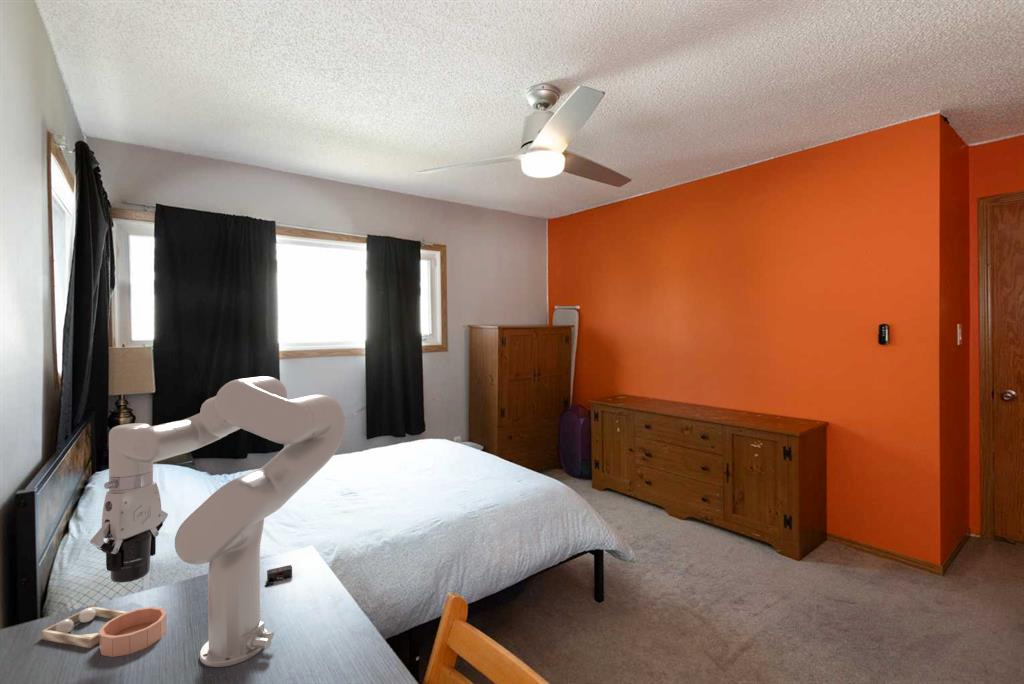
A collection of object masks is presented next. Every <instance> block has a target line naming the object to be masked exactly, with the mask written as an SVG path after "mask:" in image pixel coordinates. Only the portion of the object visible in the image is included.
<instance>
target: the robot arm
mask: <svg viewBox="0 0 1024 684" xmlns="http://www.w3.org/2000/svg"><path fill="white" fill-rule="evenodd" d="M240 429H242V430H244V431H245V432H246V431H247V432H249V433H252V434H254V435H256V436H259V437H261V438H263V439H267V440H268V441H271V442H274V443H275V444H276V443H277V444H280V445H285V446H284V447H283V448H282V449H281V450H280V451H279V452H278V453H277V454H276V455H275V456H274V457H272V458H271V459H270V460H269V461H268V462H266V463H265V464H264V465H263V466H261V467H260V468H258V469H255V470H253V471H251V472H248V473H246V474H244V475H241V476H238V477H236V478H234V479H232V480H229V481H228V482H227V483H225V484H224V485H222V486H220V487H219V488H218V489H217V490H215V491H214V492H213V493H212V494H211V495H210V496H209V497H208V498H207V499H206V500H205V501H204V502H202V504H200V505H199V506H198V507H197V508H196V509H195V510H194V511H193V512H192V513H191V514H189V516H188V517H187V518H185V520H184V521H183V522H182V523H181V525H179V527H178V529H177V530H176V534H175V538H174V549H175V553H176V555H177V557H178V558H179V559H180V560H181V561H182V562H185V563H186V564H190V565H196V566H197V565H205V564H208V566H207V567H208V568H207V569H208V570H207V599H208V600H207V607H208V609H207V611H208V612H207V614H208V615H207V616H208V617H207V618H208V624H207V625H208V640H207V641H206V642H205V643H204V644H203V645H202V647H201V648H200V651H199V661H200V663H201V664H203V665H204V666H207V667H209V668H210V667H211V668H224V667H229V666H233V665H237V664H240V663H243V662H244V661H247V660H249V659H251V658H253V657H254V656H256V655H257V654H259V653H260V652H261V651H262V650H268V649H269V648H270V647H271V644H272V639H274V636H275V632H273V631H268V630H267V629H266V628H265V622H264V621H261V579H260V578H261V577H260V576H261V574H260V573H261V572H260V571H261V567H260V565H261V562H260V559H261V558H260V556H261V554H260V553H261V543H262V542H261V541H262V538H263V537H262V535H263V531H264V530H263V529H264V525H265V524H264V523H265V518H267V517H269V516H271V515H272V514H274V513H275V512H277V511H278V510H280V509H281V508H282V507H283V506H284V505H285V504H286V503H287V502H288V501H289V500H290V499H291V498H292V497H293V496H294V495H295V494H296V493H297V492H298V491H299V490H300V489H302V487H304V486H305V485H306V484H307V483H308V482H309V481H310V480H311V479H312V478H313V477H314V476H315V475H316V474H318V472H319V471H320V470H321V469H322V468H323V467H324V466H326V464H327V463H328V462H329V461H330V460H331V459H332V458H333V456H334V455H335V454H336V452H337V450H338V449H339V447H340V446H341V443H342V441H343V438H344V435H345V431H346V418H345V412H344V409H343V407H342V405H341V403H340V402H339V401H338V400H336V399H335V398H334V397H332V396H329V395H327V394H311V395H307V396H301V397H297V398H291V399H288V390H287V388H286V385H285V384H284V383H283V382H282V381H280V379H277V378H276V377H272V376H267V375H266V376H264V375H263V376H253V377H245V378H238V379H233V380H230V381H228V382H227V383H225V384H224V385H223V386H221V387H220V388H219V390H218V391H217V393H216V395H215V396H213V397H209V398H208V399H206V400H205V401H204V402H203V403H202V404H201V407H200V412H199V413H196V414H194V415H192V416H189V417H187V418H184V419H181V420H175V421H171V422H166V423H160V424H158V425H150V424H149V423H144V422H142V423H141V422H138V423H135V422H134V423H126V424H125V423H124V424H120V425H116V426H113V427H112V428H111V429H110V431H109V433H108V481H106V482H105V483H104V486H103V487H104V489H105V490H107V489H108V491H106V493H105V497H104V501H103V507H102V516H101V517H102V518H101V528H99V530H98V531H97V532H96V533H95V535H93V537H92V538H91V539H90V541H89V543H90V544H91V545H92V546H93V547H95V548H96V549H98V550H100V551H101V552H102V553H104V554H105V568H106V570H107V571H110V572H111V571H115V572H118V571H120V570H121V569H122V563H121V552H118V550H119V548H120V546H121V543H122V541H123V540H124V539H127V538H130V537H133V536H135V535H138V534H140V533H143V532H145V531H149V532H150V533H151V557H152V556H155V555H156V546H157V545H156V543H157V541H156V540H157V539H156V538H157V537H158V536H159V533H160V532H159V531H160V530H161V528H162V527H163V525H164V523H165V521H166V519H167V517H168V515H169V514H168V513H167V512H166V511H164V510H162V502H161V495H160V489H159V486H158V483H157V482H156V481H154V463H157V462H160V461H163V460H167V459H170V458H173V457H176V456H179V455H183V454H187V453H191V452H193V451H196V450H198V449H200V448H203V447H205V446H208V445H209V444H212V443H215V442H216V441H218V440H221V439H222V438H225V437H227V436H228V435H229V434H233V433H234V432H237V431H239V430H240ZM104 539H106V541H105V540H104ZM114 540H115V542H114ZM113 542H114V545H113V546H112V544H113Z"/></svg>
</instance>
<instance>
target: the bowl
mask: <svg viewBox="0 0 1024 684" xmlns="http://www.w3.org/2000/svg"><path fill="white" fill-rule="evenodd" d="M126 612H127V613H124V614H121V615H119V616H117V617H115V618H114V619H111V620H108V621H107V622H105V624H103V626H102V627H100V629H98V631H99V632H98V633H99V644H98V645H99V651H100V655H102V656H106V657H112V658H113V657H118V656H119V657H120V656H127V655H131V654H133V653H136V652H138V651H141V650H144V649H147V648H149V647H150V646H151V645H153V644H155V643H157V641H159V640H161V639H162V637H164V635H165V633H166V632H167V612H166V611H165V608H164V607H163V608H162V607H159V606H158V607H157V606H149V607H142V608H137V609H134V610H130V611H126Z"/></svg>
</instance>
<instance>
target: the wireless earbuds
mask: <svg viewBox="0 0 1024 684" xmlns="http://www.w3.org/2000/svg"><path fill="white" fill-rule="evenodd" d="M291 577H292V578H293V566H292V565H291V564H290V565H284V566H280V567H276V568H271V569H270V568H269V569H267V570H266V582H265V584H264V588H267V587H271V586H273V585H274V583H275V581H276V582H279V580H280V581H284V580H283V579H285V580H288V579H287V578H289V579H291ZM270 585H271V586H270Z"/></svg>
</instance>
